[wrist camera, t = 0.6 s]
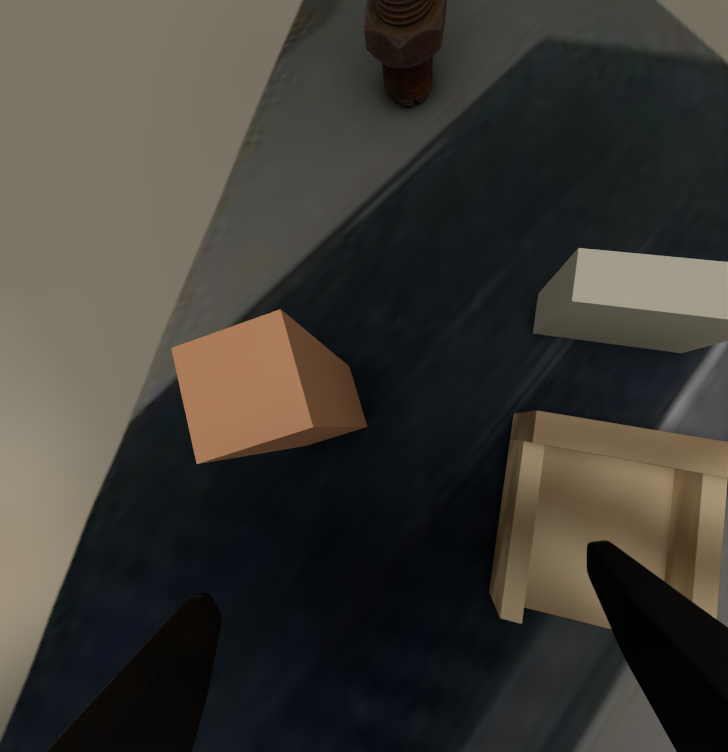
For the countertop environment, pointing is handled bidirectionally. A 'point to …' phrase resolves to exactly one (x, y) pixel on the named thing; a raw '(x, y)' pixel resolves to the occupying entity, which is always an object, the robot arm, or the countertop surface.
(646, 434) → the cradle
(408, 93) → the bolt
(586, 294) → the stop block
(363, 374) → the countertop surface
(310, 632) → the countertop surface
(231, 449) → the orange rectangular block
